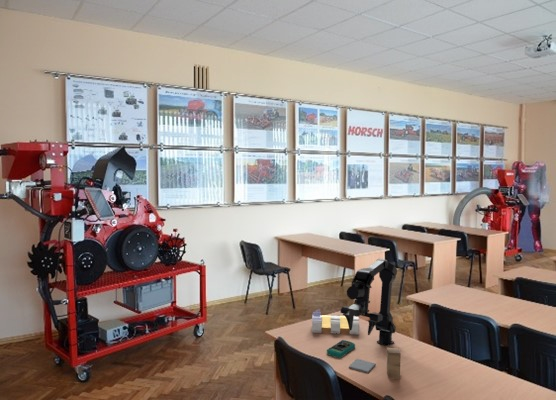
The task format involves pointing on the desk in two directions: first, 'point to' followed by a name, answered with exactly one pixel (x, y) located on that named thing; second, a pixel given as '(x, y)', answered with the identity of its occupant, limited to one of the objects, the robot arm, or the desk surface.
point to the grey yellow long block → (333, 323)
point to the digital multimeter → (340, 348)
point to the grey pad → (362, 365)
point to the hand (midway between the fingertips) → (359, 332)
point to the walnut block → (393, 363)
